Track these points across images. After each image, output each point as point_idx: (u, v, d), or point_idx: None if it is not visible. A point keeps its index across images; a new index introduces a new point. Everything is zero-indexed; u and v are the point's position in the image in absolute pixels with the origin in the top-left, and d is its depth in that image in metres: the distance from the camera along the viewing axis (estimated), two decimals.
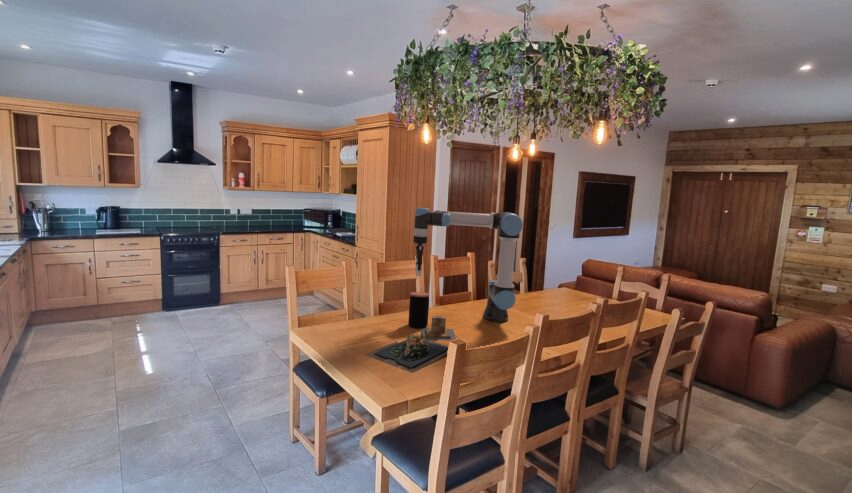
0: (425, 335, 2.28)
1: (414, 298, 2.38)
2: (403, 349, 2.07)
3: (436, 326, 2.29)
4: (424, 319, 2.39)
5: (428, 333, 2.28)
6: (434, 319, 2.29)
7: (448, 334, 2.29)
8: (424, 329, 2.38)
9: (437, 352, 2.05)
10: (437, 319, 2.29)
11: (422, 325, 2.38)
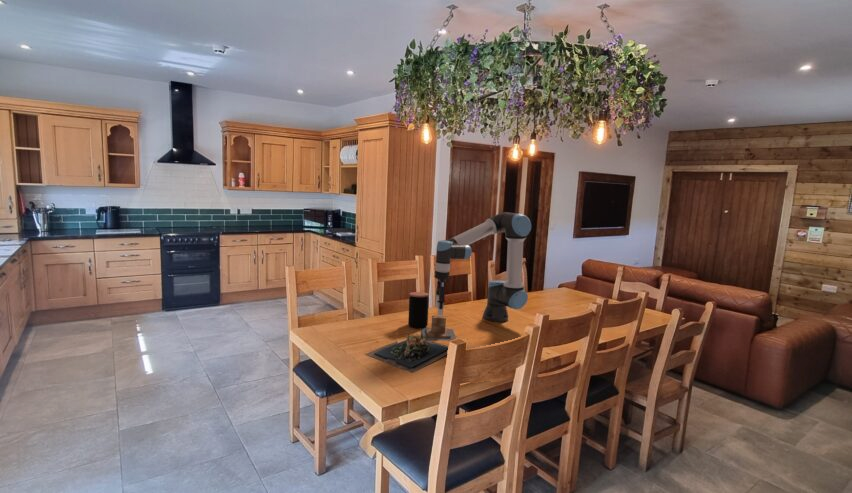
0: (425, 335, 2.28)
1: (413, 298, 2.38)
2: (403, 349, 2.07)
3: (436, 326, 2.29)
4: (424, 319, 2.39)
5: (428, 333, 2.28)
6: (434, 319, 2.29)
7: (448, 334, 2.29)
8: (424, 329, 2.38)
9: (437, 352, 2.05)
10: (437, 319, 2.29)
11: (422, 325, 2.38)
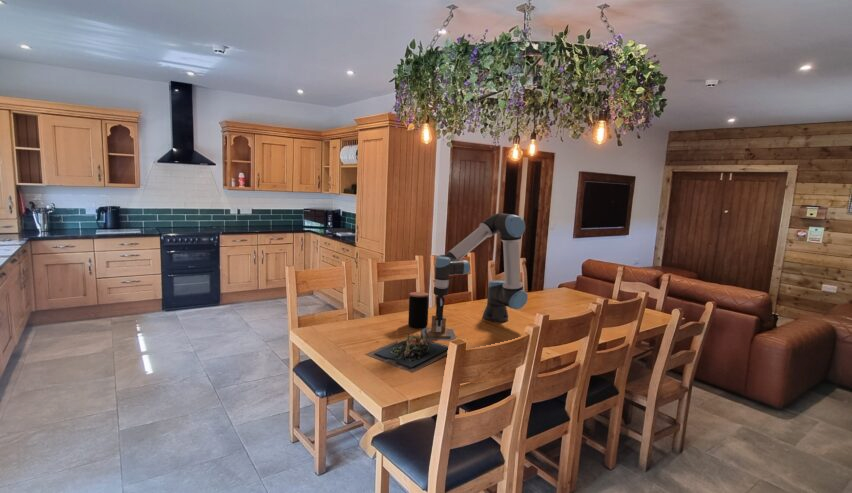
0: (425, 335, 2.28)
1: (413, 298, 2.38)
2: (403, 349, 2.07)
3: None
4: (424, 319, 2.39)
5: (428, 333, 2.28)
6: (434, 319, 2.29)
7: (448, 334, 2.29)
8: (424, 329, 2.38)
9: (437, 352, 2.05)
10: None
11: (422, 325, 2.38)
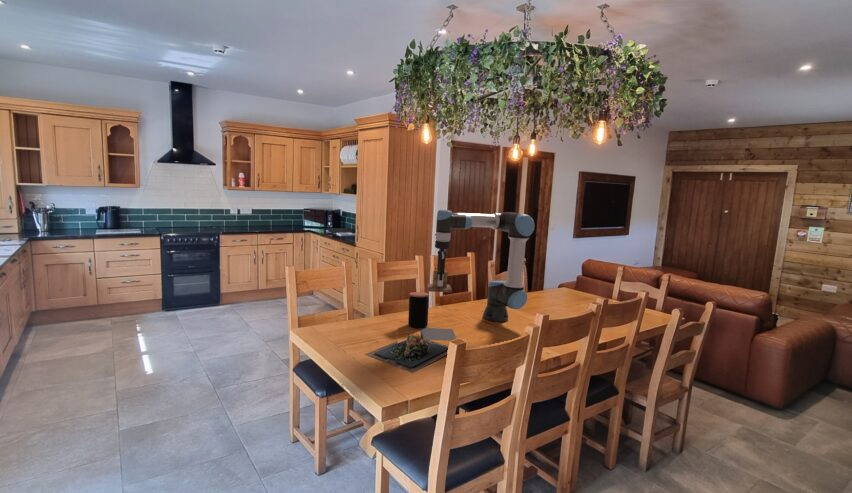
0: (425, 335, 2.28)
1: (413, 298, 2.38)
2: (403, 349, 2.07)
3: (437, 280, 2.27)
4: (424, 319, 2.39)
5: (429, 287, 2.25)
6: (435, 273, 2.26)
7: (450, 288, 2.26)
8: (424, 329, 2.38)
9: (437, 352, 2.05)
10: None
11: (422, 325, 2.38)
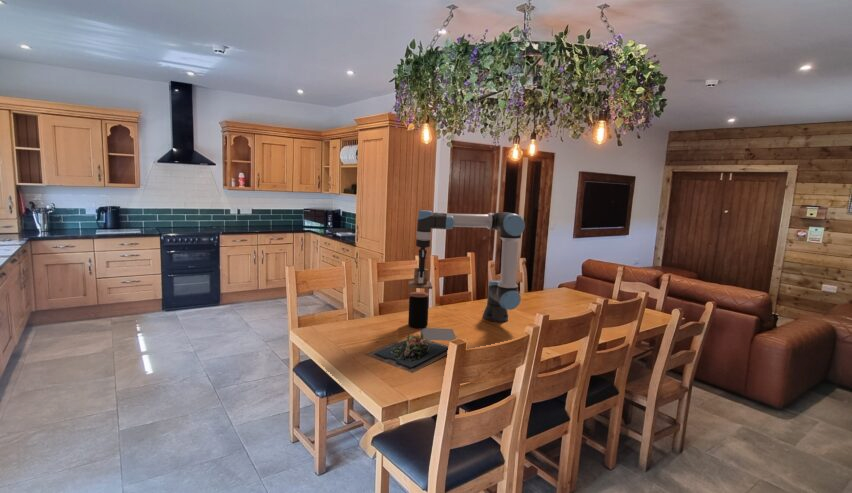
0: (425, 335, 2.28)
1: (413, 298, 2.38)
2: (403, 349, 2.07)
3: None
4: (424, 319, 2.39)
5: (410, 284, 2.36)
6: (416, 271, 2.37)
7: (430, 285, 2.36)
8: (424, 329, 2.38)
9: (437, 352, 2.05)
10: None
11: (422, 325, 2.38)
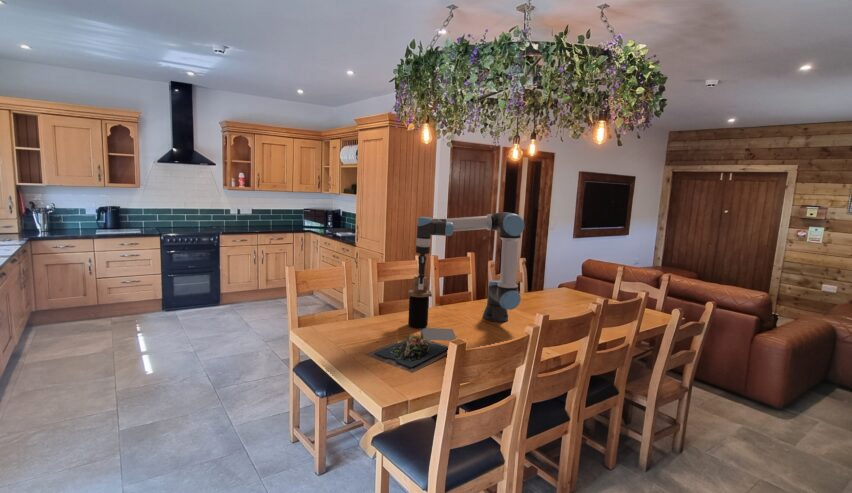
0: (425, 335, 2.28)
1: (413, 298, 2.38)
2: (403, 349, 2.07)
3: (417, 286, 2.38)
4: (424, 319, 2.39)
5: (410, 292, 2.37)
6: (416, 279, 2.38)
7: (429, 293, 2.37)
8: (424, 329, 2.38)
9: (437, 352, 2.05)
10: (418, 279, 2.38)
11: (422, 325, 2.38)
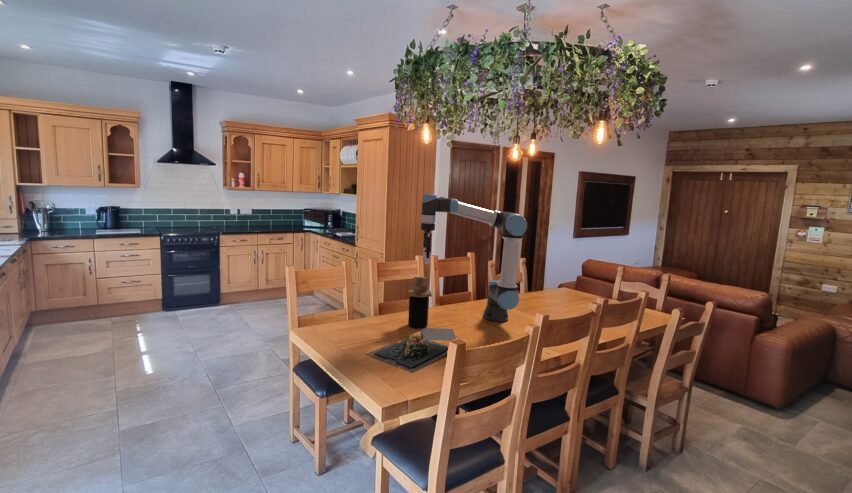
0: (425, 335, 2.28)
1: (413, 298, 2.38)
2: (403, 349, 2.07)
3: (417, 286, 2.38)
4: (424, 319, 2.39)
5: (410, 292, 2.37)
6: (415, 279, 2.38)
7: (429, 293, 2.37)
8: (424, 329, 2.38)
9: (437, 352, 2.05)
10: (418, 279, 2.38)
11: (422, 325, 2.38)
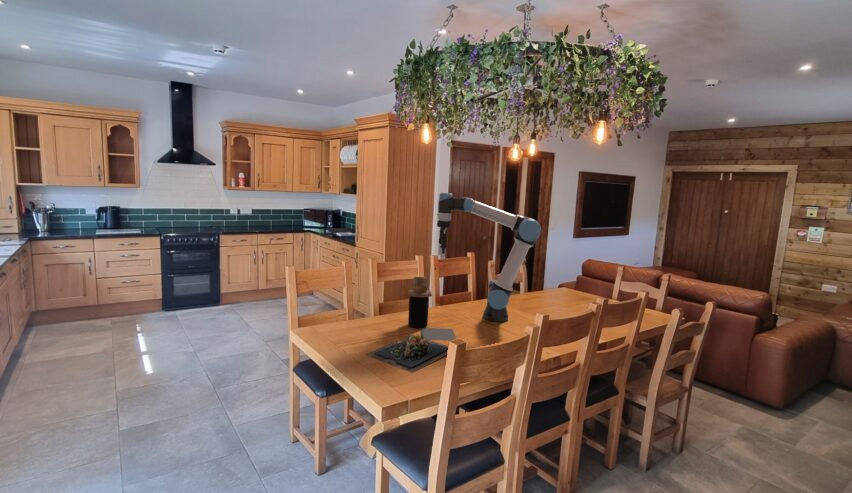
0: (425, 335, 2.28)
1: (413, 298, 2.38)
2: (403, 349, 2.07)
3: (417, 286, 2.38)
4: (424, 319, 2.39)
5: (410, 292, 2.37)
6: (415, 279, 2.38)
7: (429, 293, 2.37)
8: (424, 329, 2.38)
9: (437, 352, 2.05)
10: (418, 279, 2.38)
11: (422, 325, 2.38)
